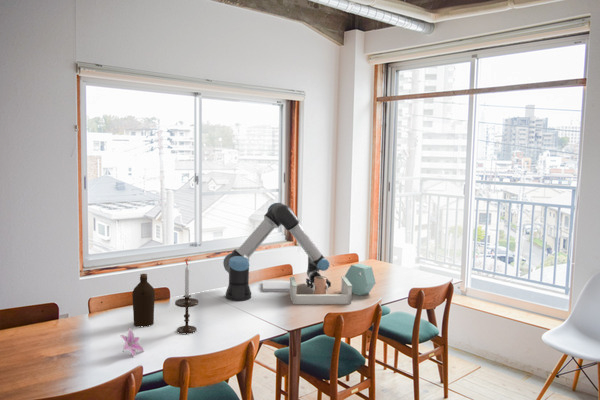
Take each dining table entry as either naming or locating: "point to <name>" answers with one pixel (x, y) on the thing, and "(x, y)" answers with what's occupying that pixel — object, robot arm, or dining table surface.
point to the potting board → (276, 286)
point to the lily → (131, 342)
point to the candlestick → (186, 305)
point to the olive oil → (143, 303)
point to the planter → (361, 278)
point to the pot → (320, 285)
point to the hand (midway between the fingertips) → (320, 288)
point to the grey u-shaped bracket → (322, 295)
